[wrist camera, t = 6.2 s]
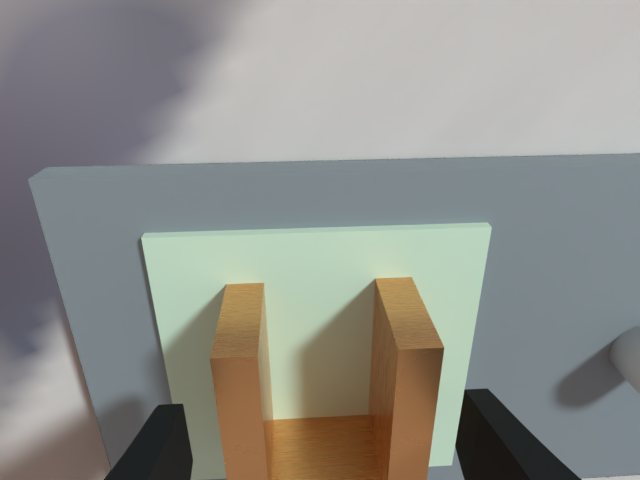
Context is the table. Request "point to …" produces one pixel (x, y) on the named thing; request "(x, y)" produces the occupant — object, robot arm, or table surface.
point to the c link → (338, 431)
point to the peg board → (360, 289)
